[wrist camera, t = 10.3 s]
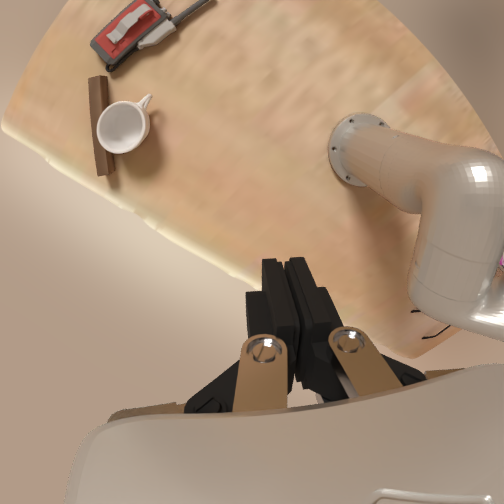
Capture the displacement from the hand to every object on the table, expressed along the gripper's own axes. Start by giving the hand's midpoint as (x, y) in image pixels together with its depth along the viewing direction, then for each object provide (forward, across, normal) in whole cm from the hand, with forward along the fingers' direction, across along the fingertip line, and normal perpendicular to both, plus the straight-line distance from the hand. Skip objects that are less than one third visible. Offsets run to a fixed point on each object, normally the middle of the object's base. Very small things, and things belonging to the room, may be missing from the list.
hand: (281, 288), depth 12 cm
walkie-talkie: (+38, +14, -22) cm, 46 cm away
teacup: (+37, +16, -6) cm, 41 cm away
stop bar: (+37, +22, -6) cm, 44 cm away
